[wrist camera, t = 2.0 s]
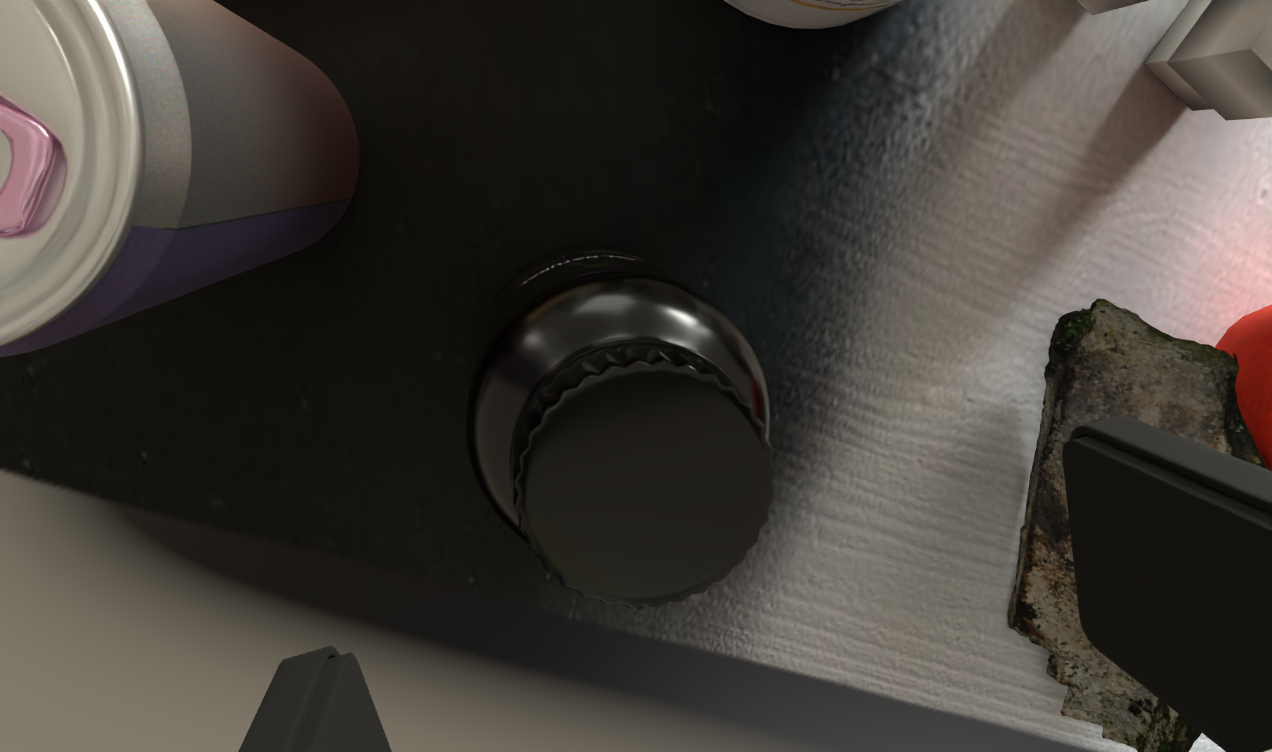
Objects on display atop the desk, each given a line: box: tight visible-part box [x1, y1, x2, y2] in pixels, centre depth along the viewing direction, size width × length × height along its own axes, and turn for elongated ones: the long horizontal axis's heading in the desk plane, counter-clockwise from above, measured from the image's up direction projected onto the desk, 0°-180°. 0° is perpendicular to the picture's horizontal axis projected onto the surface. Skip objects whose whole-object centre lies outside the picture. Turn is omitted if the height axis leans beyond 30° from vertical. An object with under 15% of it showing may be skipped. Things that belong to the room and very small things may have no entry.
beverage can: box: [0, 0, 360, 357], centre depth 16 cm, size 6×6×15 cm
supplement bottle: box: [466, 244, 776, 609], centre depth 20 cm, size 7×7×12 cm
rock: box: [1008, 299, 1269, 752], centre depth 28 cm, size 17×3×10 cm
